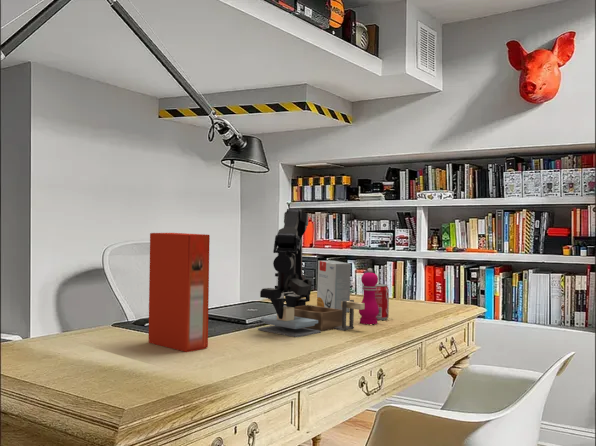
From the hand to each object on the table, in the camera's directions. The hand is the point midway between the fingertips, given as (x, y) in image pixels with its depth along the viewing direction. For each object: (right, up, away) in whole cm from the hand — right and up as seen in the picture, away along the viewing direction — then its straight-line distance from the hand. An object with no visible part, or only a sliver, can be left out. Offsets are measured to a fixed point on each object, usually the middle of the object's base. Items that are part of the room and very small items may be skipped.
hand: (285, 318), depth 202 cm
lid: (+1, -2, +1) cm, 3 cm away
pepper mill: (+30, -5, +22) cm, 37 cm away
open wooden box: (+11, -5, +12) cm, 17 cm away
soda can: (+35, -6, +32) cm, 47 cm away
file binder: (-30, -4, -25) cm, 40 cm away
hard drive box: (+18, -5, +53) cm, 56 cm away
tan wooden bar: (+23, +2, +7) cm, 24 cm away
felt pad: (+1, -5, +1) cm, 5 cm away
